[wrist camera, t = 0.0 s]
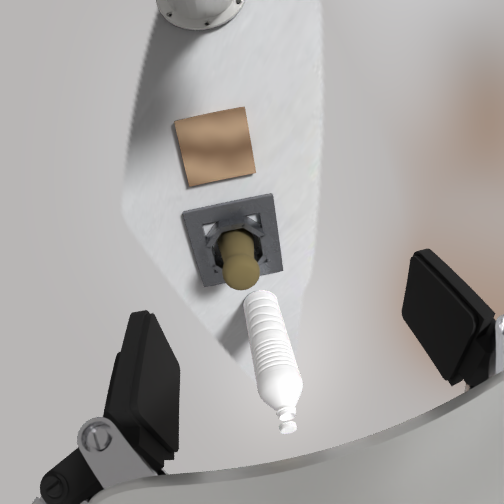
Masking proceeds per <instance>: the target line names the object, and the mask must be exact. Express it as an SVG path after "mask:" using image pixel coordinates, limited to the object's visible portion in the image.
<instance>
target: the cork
mask: <svg viewBox="0 0 504 504" xmlns="http://www.w3.org/2000/svg"><path fill="white" fill-rule="evenodd" d="M217 243H218V248H219V250H220V253H221V256H222V259H223V262H224V265H223V269H222V274H223V279H224V280H225V282H226V284H227V285H228V286H230V287H231V288H233V289H236V290H246V289H249V288H251V287H252V286H253V285H255V284H256V282H257V281H258V279H259V276H260V268H259V265H258V263H257V261H256V260H255V259H254V237H253V234H252V233H251V232H250V231H248V230H246V229H244V228H240V229H235V230H230V231H225V232H222V233H221V235H220V236H219V238H218V240H217Z"/></svg>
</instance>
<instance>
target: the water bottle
mask: <svg viewBox="0 0 504 504" xmlns="http://www.w3.org/2000/svg"><path fill="white" fill-rule="evenodd" d="M243 308H244V313H245V319H246V325H247V330H248V336H249V342H250V348H251V353H252V359H253V364H254V370H255V376H256V381H257V388H258V393H259V395H260V397H261V399H262V400H263V401H264V402H265V403H266V404H268V405H269V406H270V407H272V408H273V409H274V410H276V411H277V413H276V414H277V415H278V416H279V419H280V420H282V421H287V420H291V419H293V418H294V417H295V416H296V408H295V405H296V403H297V401H298V399H299V397H300V395H301V393H302V388H303V382H302V378H301V375H300V373H299V370H298V367H297V363H296V360H295V356H294V353H293V350H292V347H291V343H290V339H289V337H288V333H287V330H286V327H285V323H284V321H283V317H282V314H281V311H280V308H279V304H278V301H277V298H276V296H275V295H274V294H273V293H272V292H270V291H267V290H258V291H255V292H254V293H250V294H249V295H248V296H247V297H246V299H245V300H244V303H243ZM286 423H287V424H286ZM294 423H295V422H293V421H288V422H284V423H282V424H281V425H280V426H281V427H280V426H279V429H280V432H281V433H283V434H289V433H292V432H294V431H295V430H296V429H297V427H296V423H295V424H294ZM283 424H284V425H283Z"/></svg>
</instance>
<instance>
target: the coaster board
mask: <svg viewBox="0 0 504 504" xmlns="http://www.w3.org/2000/svg"><path fill="white" fill-rule="evenodd" d="M174 123H175V128H176V132H177V137H178V141H179V145H180V150H181V154H182V158H183V162H184V167H185V171H186V175H187V179H188V183H189V187H190V186H195V185H199V184H204V183H208V182H213V181H218V180H222V179H227V178H232V177H237V176H242V175H247V174H253V173H256V170H255V164H254V158H253V152H252V146H251V140H250V134H249V128H248V123H247V117H246V111H245V107H239V108H234V109H228V110H223V111H218V112H213V113H208V114H203V115H199V116H194V117H190V118H186V119H181V120H177V121H174Z"/></svg>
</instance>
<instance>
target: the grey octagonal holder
mask: <svg viewBox="0 0 504 504" xmlns="http://www.w3.org/2000/svg"><path fill="white" fill-rule="evenodd" d="M255 213H259V214H260V220H261V225H260V224H258V223H257V222H255V221H254V220H252V219H250V218H249V217H247V216H245V215H250V214H255ZM183 216H184V220H185V223H186V227H187V230H188V234H189V237H190V241H191V244H192V248H193V251H194V255H195V258H196V261H197V265H198V268H199V271H200V274H201V278H202V281H203V284H204V287H207V286H212V285H217V284H222V283H226V282H225V280H224V279H223V274H222V269H223V265H224V262H223V259H222V258H221V257H220V256H218V255H216V254H215V252H214V248H213V245H214V243H215V242H216V240H217V239H218V238H219V236H220V235H221V233H222V232H225V231H230V230H235V229H240V228H244V229H246V230H248V231H250V232H251V233H253V234H255V235H256V236H258V237H259V243H260V245H259V247H258V248H257V249H256V250H255V252H254V259H255V260H256V261H257V263H258V265H259V268H260V276H261V275H266V274H270V273H275V272H280V271H283V265H282V258H281V250H280V242H279V235H278V228H277V220H276V213H275V206H274V199H273V195H272V193H270V194H265V195H260V196H255V197H250V198H245V199H240V200H235V201H230V202H225V203H220V204H215V205H211V206H206V207H201V208H197V209H192V210H188V211H184V212H183ZM211 222H216V223H215V224H214V225H213V227H212V228H211V230H210V231H209V233H208V234H207V236H205V233H204V229H203V225H202V224H207V223H211ZM266 258H267V259H266Z"/></svg>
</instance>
